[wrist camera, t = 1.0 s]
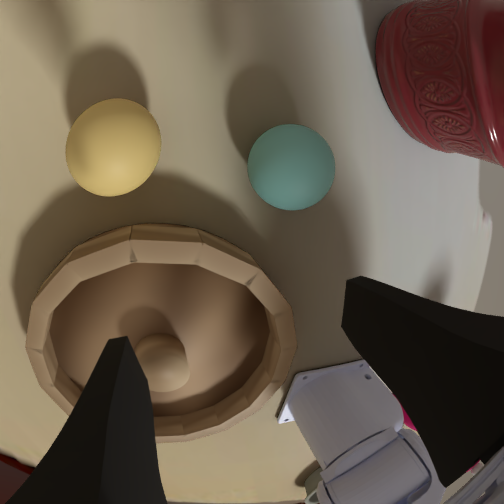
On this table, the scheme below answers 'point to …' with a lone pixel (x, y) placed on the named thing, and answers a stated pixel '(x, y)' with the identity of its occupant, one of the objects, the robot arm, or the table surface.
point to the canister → (446, 74)
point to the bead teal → (291, 167)
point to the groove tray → (166, 325)
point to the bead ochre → (113, 147)
